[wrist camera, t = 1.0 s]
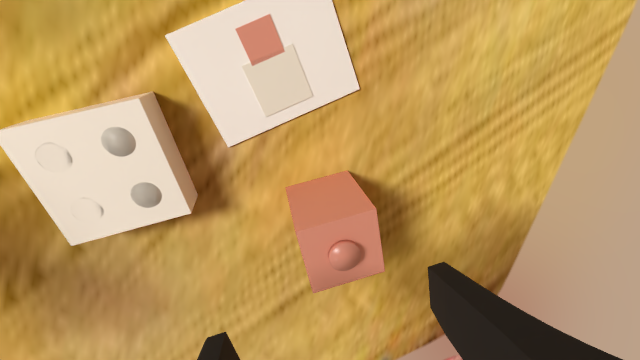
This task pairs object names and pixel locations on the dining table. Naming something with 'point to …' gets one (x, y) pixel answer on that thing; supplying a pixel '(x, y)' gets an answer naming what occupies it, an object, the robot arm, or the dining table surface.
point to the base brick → (103, 167)
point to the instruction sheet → (265, 63)
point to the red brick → (335, 230)
